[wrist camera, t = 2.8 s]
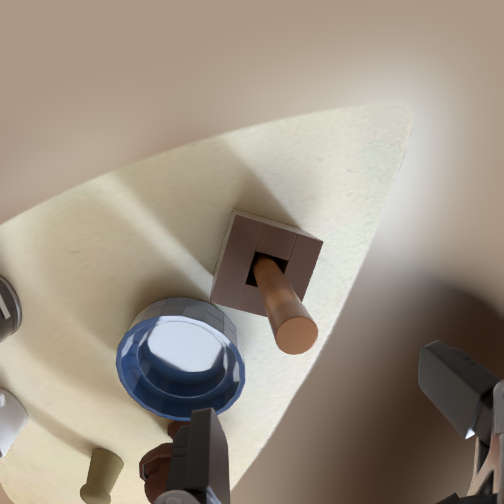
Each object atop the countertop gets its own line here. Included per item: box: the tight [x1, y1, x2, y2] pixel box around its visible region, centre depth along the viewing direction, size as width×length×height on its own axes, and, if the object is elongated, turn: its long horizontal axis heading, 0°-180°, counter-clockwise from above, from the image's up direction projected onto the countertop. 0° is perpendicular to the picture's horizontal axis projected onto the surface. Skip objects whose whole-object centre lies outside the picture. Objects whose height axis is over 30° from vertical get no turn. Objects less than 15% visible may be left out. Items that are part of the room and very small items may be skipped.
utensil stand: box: [210, 208, 323, 317], centre depth 30 cm, size 8×8×8 cm
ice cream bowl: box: [139, 420, 190, 504], centre depth 32 cm, size 11×11×15 cm
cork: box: [80, 449, 124, 504], centre depth 34 cm, size 6×6×11 cm
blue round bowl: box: [116, 297, 245, 421], centre depth 33 cm, size 14×14×6 cm
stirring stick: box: [251, 251, 318, 355], centre depth 25 cm, size 2×2×20 cm
